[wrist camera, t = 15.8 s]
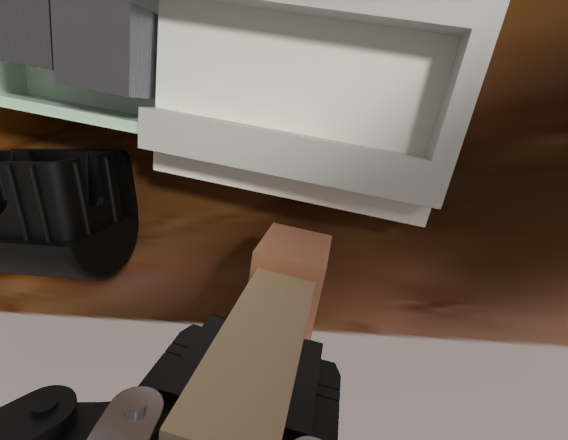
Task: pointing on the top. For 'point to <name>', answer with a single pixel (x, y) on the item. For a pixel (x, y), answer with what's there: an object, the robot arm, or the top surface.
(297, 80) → the slot board
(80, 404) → the robot arm
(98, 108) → the tray
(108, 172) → the end cap
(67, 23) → the grey cube block
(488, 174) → the top surface
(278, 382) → the two-tone stepped bar
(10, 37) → the dark grey cube
